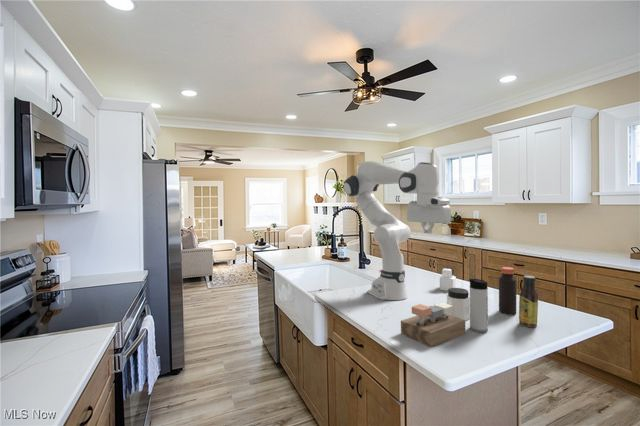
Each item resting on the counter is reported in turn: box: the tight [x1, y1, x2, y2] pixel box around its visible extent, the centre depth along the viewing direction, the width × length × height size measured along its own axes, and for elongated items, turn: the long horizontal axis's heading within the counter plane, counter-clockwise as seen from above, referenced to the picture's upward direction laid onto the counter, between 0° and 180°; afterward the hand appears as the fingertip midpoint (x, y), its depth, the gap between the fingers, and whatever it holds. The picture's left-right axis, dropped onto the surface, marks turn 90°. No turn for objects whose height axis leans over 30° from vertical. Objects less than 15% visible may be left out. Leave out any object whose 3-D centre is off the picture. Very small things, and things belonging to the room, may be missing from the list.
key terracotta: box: [411, 303, 432, 327], centre depth 117 cm, size 5×5×8 cm
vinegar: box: [498, 266, 517, 316], centre depth 141 cm, size 7×7×20 cm
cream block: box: [433, 302, 453, 319], centre depth 124 cm, size 5×5×8 cm
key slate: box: [428, 305, 443, 322], centre depth 121 cm, size 5×5×8 cm
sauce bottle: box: [518, 274, 539, 328], centre depth 126 cm, size 6×6×20 cm
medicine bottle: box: [439, 267, 457, 292], centre depth 179 cm, size 7×7×12 cm
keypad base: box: [400, 314, 466, 348], centre depth 121 cm, size 14×20×5 cm
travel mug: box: [468, 278, 489, 334], centre depth 123 cm, size 6×7×20 cm
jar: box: [446, 287, 470, 322], centre depth 136 cm, size 9×8×12 cm
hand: (427, 233), depth 133 cm, fingers closed
